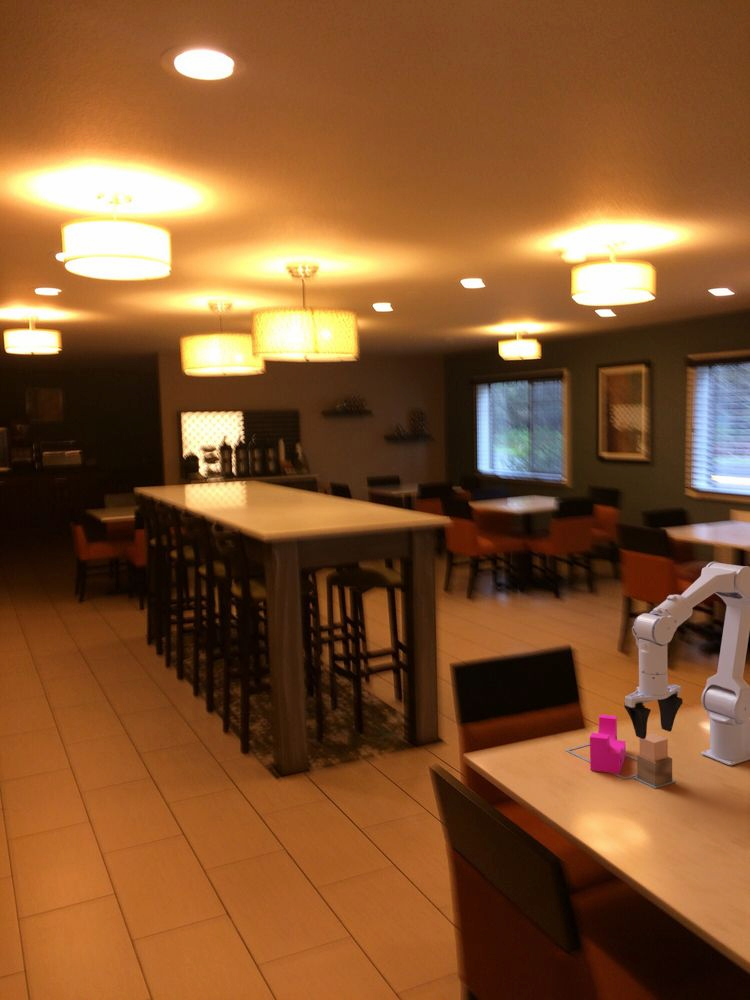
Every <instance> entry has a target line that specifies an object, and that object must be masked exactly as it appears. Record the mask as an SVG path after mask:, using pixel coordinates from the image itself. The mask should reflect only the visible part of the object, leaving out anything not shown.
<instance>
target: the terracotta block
mask: <svg viewBox="0 0 750 1000" xmlns="http://www.w3.org/2000/svg"><path fill="white" fill-rule="evenodd" d="M638 738H639V737H638ZM638 741H639V755H640V756H643V757H645V758H647V759H650V760H652V761H658V760H661V759H664V758H667V757H669V756H668V755H669V751H668V750H669V749H668V748H669V747H668V744H669V743H668V741H669V739H668V738H666V737H664V736H661V735H659V734H656V733H653V732H652V733H649V734H648V733H647V734H646V738H645V739H642V738H639V740H638Z"/></svg>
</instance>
